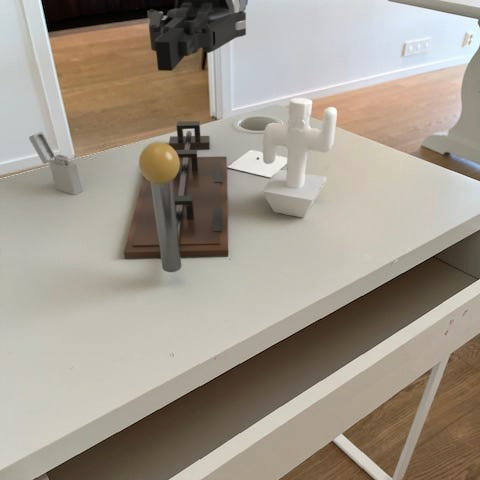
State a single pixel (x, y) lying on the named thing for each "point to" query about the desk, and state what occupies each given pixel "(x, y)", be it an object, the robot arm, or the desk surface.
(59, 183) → the lighter
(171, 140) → the keeper
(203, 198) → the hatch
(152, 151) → the bolt
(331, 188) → the desk surface
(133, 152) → the desk surface
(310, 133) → the figurine
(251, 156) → the white piece
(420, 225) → the desk surface
